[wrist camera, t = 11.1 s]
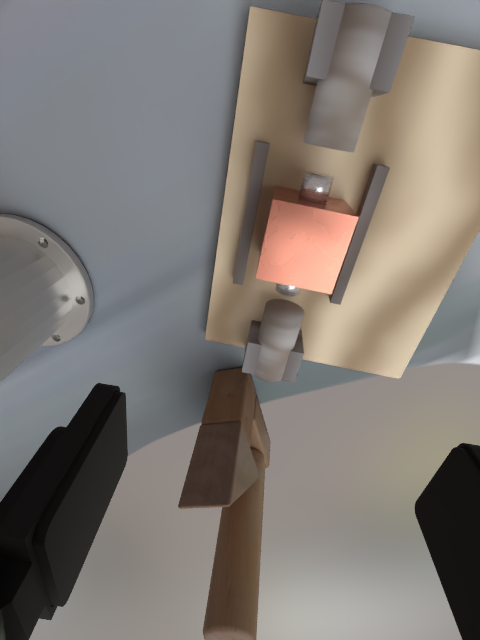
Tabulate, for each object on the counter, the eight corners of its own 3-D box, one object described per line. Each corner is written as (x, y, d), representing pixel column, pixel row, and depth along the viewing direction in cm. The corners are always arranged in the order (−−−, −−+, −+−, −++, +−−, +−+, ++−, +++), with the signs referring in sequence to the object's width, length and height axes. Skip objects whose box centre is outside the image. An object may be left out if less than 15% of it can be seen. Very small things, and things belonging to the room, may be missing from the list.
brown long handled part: (249, 365, 33) (219, 575, 18) (271, 440, 38) (263, 655, 23) (213, 369, 34) (156, 575, 19) (239, 442, 39) (211, 652, 24)
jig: (207, 332, 32) (194, 366, 27) (251, 12, 20) (242, -20, 16) (395, 370, 32) (414, 411, 27) (552, 69, 20) (630, 54, 15)
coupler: (256, 270, 27) (251, 298, 23) (279, 162, 23) (278, 171, 18) (317, 283, 27) (324, 314, 23) (352, 177, 23) (368, 189, 18)
